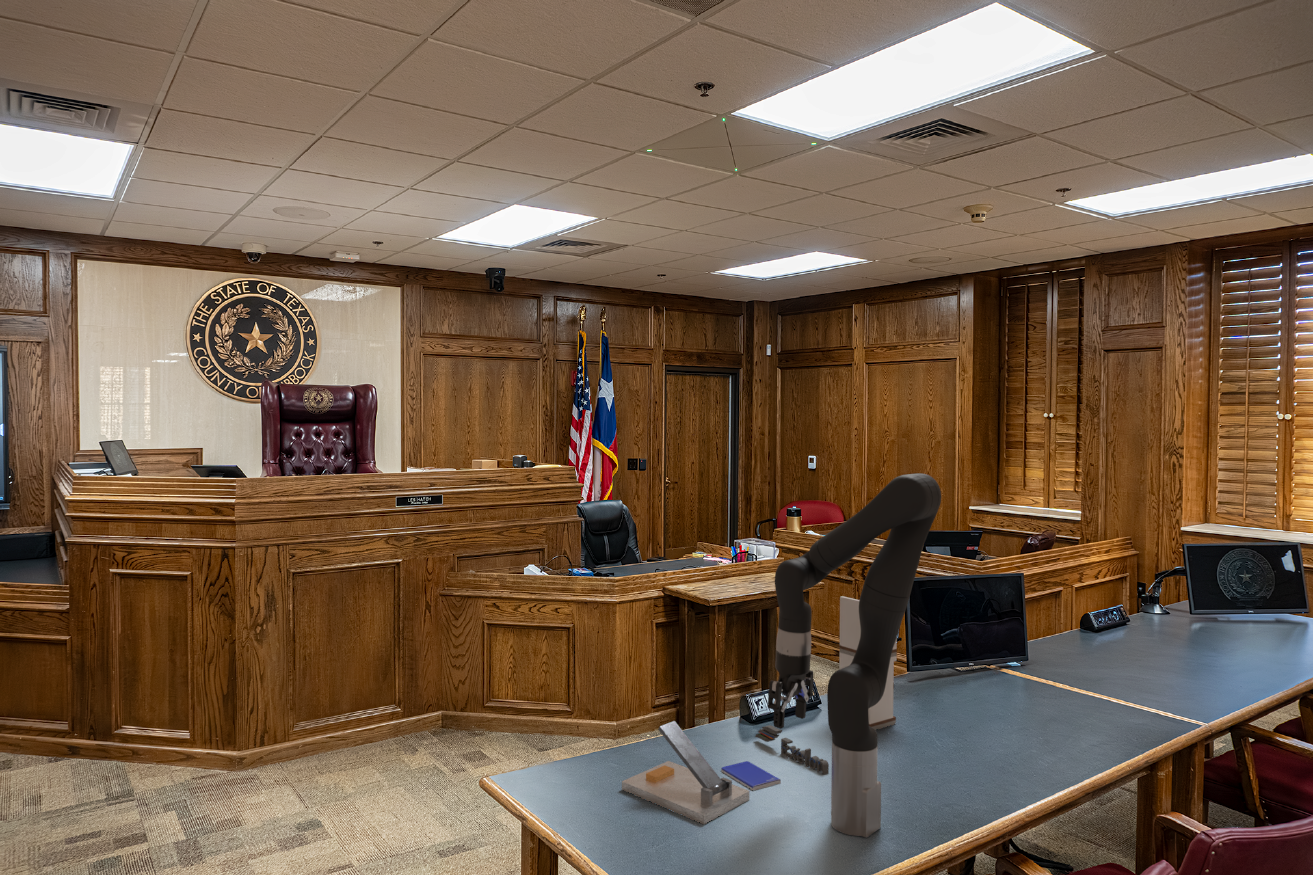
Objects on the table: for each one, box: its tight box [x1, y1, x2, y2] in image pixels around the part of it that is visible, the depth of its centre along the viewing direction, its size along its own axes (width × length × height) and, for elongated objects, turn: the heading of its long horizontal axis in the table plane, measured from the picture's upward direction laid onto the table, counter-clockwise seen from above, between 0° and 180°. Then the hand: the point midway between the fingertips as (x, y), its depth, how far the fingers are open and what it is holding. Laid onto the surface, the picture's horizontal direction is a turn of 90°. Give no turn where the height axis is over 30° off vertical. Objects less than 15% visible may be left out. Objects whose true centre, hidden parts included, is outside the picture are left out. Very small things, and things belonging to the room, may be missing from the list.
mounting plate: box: [621, 760, 750, 825], centre depth 186 cm, size 24×16×5 cm, turn 48°
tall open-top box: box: [838, 595, 898, 731], centre depth 234 cm, size 11×11×35 cm
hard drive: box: [720, 760, 782, 791], centre depth 196 cm, size 2×8×12 cm
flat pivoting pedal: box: [657, 720, 727, 796], centre depth 185 cm, size 19×5×2 cm
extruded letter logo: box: [754, 724, 830, 776], centre depth 209 cm, size 25×2×6 cm, turn 34°
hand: (789, 722), depth 182 cm, fingers open, 8 cm apart
